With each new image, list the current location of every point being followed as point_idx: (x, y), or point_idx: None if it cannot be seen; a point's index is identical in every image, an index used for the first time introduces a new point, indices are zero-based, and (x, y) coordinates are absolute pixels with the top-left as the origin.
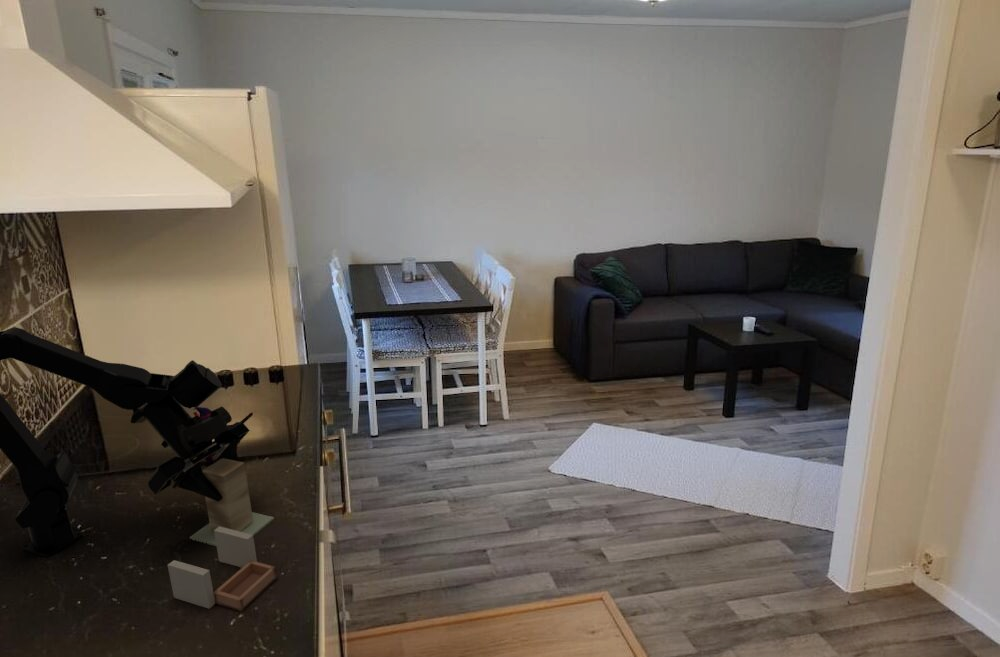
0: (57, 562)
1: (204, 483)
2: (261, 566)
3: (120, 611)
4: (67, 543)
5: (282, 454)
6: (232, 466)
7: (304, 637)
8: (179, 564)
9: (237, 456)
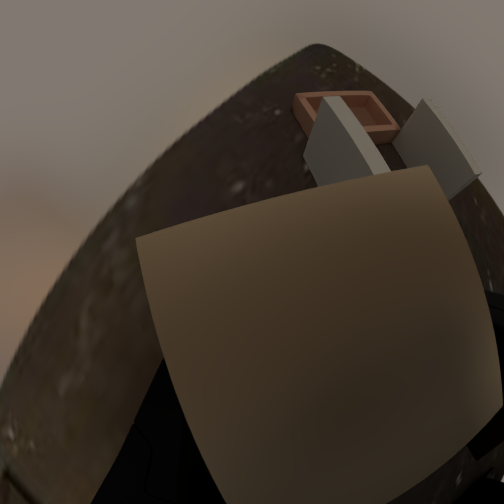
0: (494, 448)
1: (485, 290)
2: (314, 112)
3: (487, 249)
4: (477, 484)
5: (24, 493)
6: (296, 265)
7: (316, 45)
8: (466, 153)
9: (103, 482)
